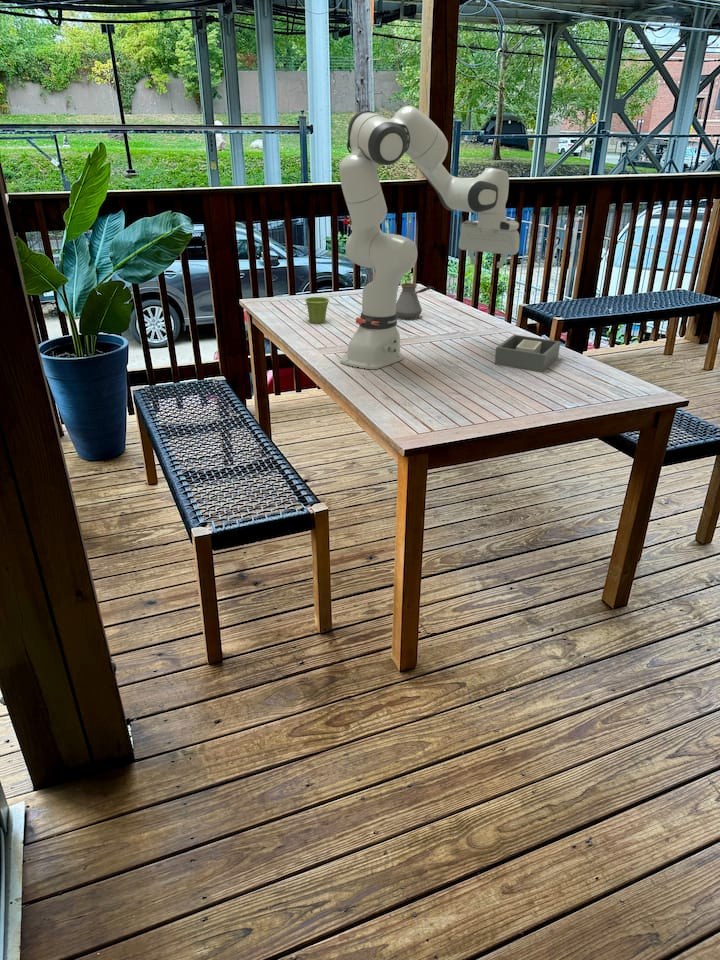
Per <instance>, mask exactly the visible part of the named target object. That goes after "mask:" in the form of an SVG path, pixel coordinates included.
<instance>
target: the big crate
mask: <svg viewBox="0 0 720 960" xmlns="http://www.w3.org/2000/svg"><path fill="white" fill-rule="evenodd" d="M524 339H525V340H532V341H539V342H542V343H541V350H540V353H534V352H528V351H521V350H516V347H517V346H518V345H519V344H520V343H521V342H522V341H523V340H524ZM560 347H561V341H560V340H552V339H546V338H538V337H533V336H526V335H519V334H513V335H512V336H510V337H509V338H507V339H506V340H504V341H503V342H501V344H499V345H498V346H496V349H495V355H494V356H495V357H494V365H498V366H503V367H508V368H512V369H514V368H515V369H521V370H525V371H531V372H537V373H541V372H543V373H544V372H545V371H546V370H547V369H548V368H549V367H551V365H553V364H554V363H555V362H556V361H557V360H558V359H559V354H560Z"/></svg>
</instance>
